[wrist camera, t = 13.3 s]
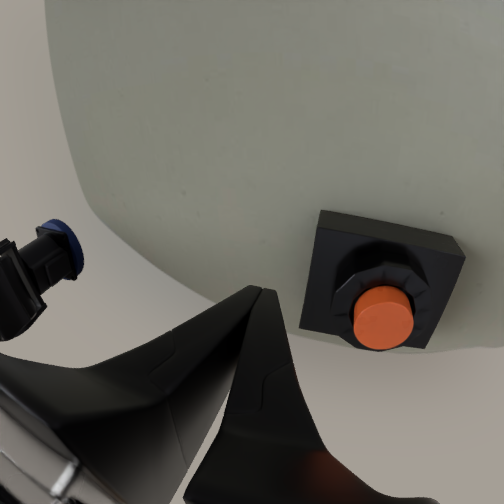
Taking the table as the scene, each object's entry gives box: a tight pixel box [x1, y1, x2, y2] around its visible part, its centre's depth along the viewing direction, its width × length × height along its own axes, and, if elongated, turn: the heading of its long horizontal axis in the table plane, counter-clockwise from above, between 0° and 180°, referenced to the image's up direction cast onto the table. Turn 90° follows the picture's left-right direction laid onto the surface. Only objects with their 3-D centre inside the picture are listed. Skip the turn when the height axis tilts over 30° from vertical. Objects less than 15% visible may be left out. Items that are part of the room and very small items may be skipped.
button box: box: [299, 210, 466, 352], centre depth 19 cm, size 10×8×5 cm
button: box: [354, 286, 414, 349], centre depth 17 cm, size 4×4×2 cm
